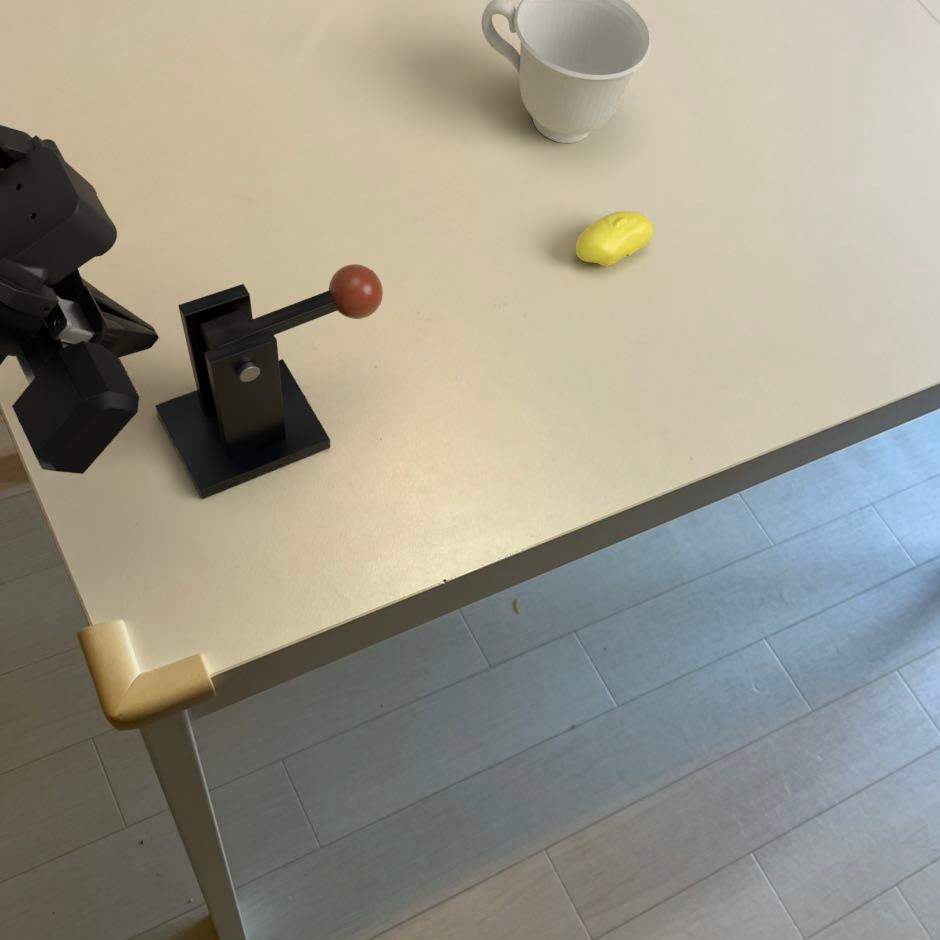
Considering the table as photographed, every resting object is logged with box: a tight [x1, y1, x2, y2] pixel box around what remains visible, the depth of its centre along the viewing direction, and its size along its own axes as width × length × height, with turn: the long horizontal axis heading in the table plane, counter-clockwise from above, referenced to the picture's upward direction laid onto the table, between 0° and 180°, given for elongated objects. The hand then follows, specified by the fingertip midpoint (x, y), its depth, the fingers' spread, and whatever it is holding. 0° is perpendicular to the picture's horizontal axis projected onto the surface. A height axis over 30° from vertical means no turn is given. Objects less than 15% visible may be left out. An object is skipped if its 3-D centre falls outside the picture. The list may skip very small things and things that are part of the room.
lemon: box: [575, 210, 654, 267], centre depth 88 cm, size 4×8×4 cm, turn 120°
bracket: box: [154, 283, 331, 500], centre depth 70 cm, size 10×8×13 cm
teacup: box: [480, 0, 652, 144], centre depth 92 cm, size 12×15×10 cm
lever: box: [200, 263, 384, 351], centre depth 68 cm, size 12×4×4 cm, turn 121°
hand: (152, 338), depth 62 cm, fingers closed
